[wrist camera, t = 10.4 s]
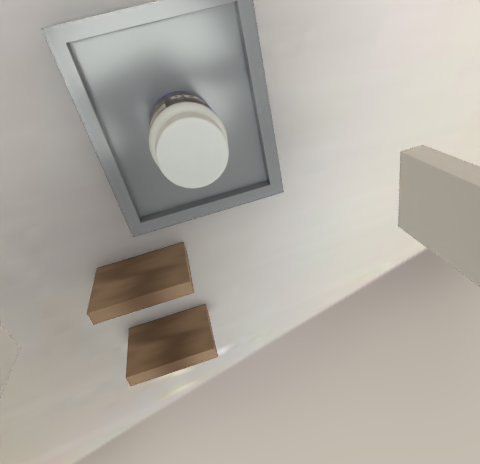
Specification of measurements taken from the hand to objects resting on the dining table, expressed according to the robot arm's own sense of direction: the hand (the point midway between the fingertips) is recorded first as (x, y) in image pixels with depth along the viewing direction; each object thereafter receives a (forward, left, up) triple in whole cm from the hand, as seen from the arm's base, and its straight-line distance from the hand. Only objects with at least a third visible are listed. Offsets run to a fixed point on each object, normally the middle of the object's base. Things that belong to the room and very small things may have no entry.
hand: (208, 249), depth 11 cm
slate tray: (+1, 0, -19) cm, 19 cm away
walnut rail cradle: (-6, -15, -19) cm, 25 cm away
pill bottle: (+1, 0, -18) cm, 18 cm away
